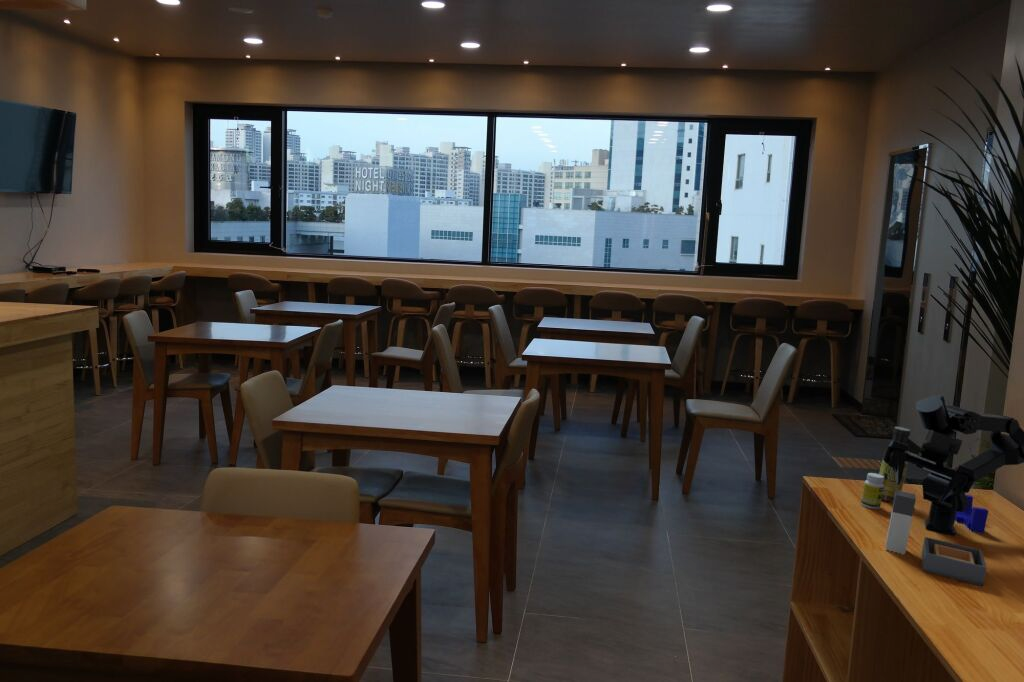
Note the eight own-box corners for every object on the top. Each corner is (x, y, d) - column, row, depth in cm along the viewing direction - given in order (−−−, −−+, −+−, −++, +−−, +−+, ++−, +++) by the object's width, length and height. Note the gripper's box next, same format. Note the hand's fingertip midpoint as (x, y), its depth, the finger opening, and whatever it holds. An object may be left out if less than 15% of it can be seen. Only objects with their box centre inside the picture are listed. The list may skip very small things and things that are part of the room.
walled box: (921, 553, 183) (924, 536, 182) (978, 567, 178) (981, 550, 178) (922, 571, 173) (926, 553, 172) (982, 586, 168) (986, 567, 168)
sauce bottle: (877, 501, 218) (891, 429, 215) (871, 493, 224) (884, 423, 221) (903, 505, 217) (917, 432, 214) (896, 497, 223) (909, 427, 220)
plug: (885, 544, 186) (895, 490, 184) (904, 549, 184) (915, 494, 182) (885, 550, 183) (895, 494, 181) (904, 555, 181) (915, 499, 179)
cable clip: (948, 514, 214) (952, 492, 213) (966, 517, 213) (971, 495, 212) (964, 530, 202) (968, 507, 201) (983, 533, 201) (988, 510, 200)
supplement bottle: (878, 510, 210) (884, 479, 208) (859, 505, 212) (864, 474, 211) (881, 506, 214) (887, 475, 212) (862, 501, 216) (867, 470, 215)
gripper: (904, 407, 191) (885, 453, 182) (991, 438, 183) (976, 487, 174) (892, 438, 199) (873, 483, 190) (975, 468, 191) (960, 517, 182)
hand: (919, 491), depth 184 cm, fingers open, 9 cm apart
